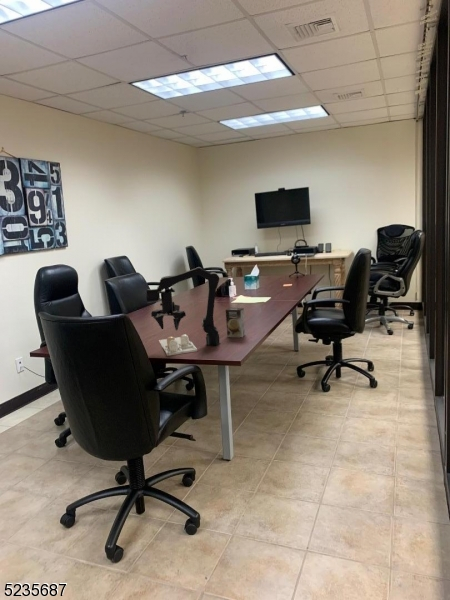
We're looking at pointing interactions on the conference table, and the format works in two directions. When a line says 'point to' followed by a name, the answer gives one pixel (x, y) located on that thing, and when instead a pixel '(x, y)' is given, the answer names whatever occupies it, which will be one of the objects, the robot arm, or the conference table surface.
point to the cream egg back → (184, 340)
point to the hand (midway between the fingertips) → (169, 329)
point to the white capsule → (173, 346)
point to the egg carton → (180, 349)
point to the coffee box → (235, 322)
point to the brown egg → (169, 340)
